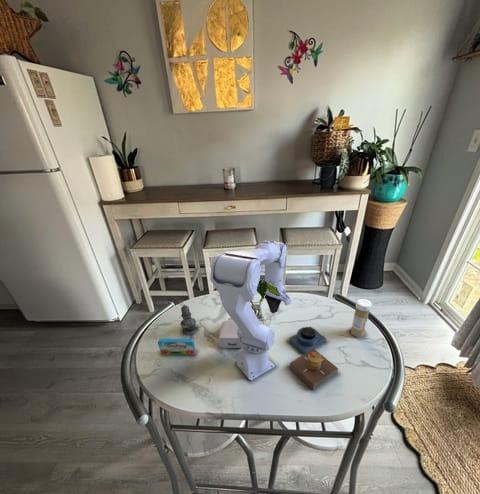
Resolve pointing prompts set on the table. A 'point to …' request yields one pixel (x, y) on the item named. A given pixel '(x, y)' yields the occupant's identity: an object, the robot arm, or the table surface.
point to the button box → (306, 341)
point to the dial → (314, 361)
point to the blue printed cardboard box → (177, 346)
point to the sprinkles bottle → (360, 317)
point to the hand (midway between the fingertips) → (273, 311)
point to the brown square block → (313, 376)
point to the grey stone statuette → (187, 321)
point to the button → (308, 333)
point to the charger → (229, 335)
